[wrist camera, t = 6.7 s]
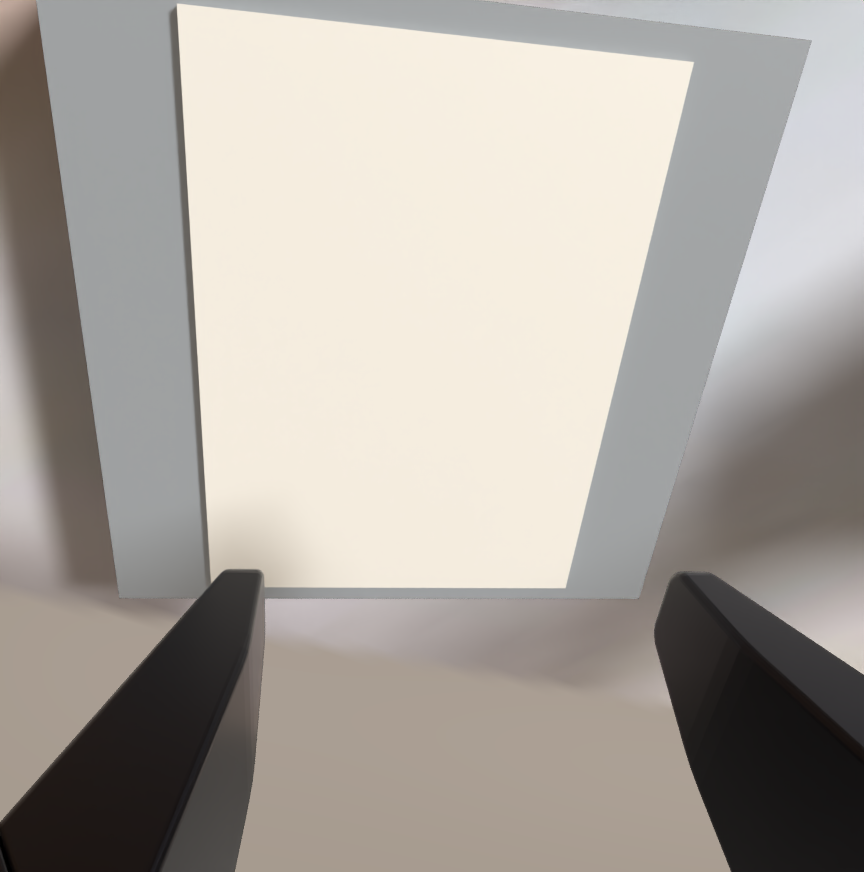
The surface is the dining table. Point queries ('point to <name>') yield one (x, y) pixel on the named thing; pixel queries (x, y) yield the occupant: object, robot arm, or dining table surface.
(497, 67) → the plinth
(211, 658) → the robot arm
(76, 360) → the dining table surface
